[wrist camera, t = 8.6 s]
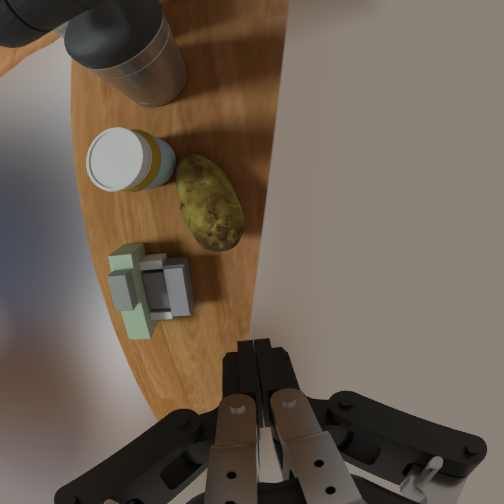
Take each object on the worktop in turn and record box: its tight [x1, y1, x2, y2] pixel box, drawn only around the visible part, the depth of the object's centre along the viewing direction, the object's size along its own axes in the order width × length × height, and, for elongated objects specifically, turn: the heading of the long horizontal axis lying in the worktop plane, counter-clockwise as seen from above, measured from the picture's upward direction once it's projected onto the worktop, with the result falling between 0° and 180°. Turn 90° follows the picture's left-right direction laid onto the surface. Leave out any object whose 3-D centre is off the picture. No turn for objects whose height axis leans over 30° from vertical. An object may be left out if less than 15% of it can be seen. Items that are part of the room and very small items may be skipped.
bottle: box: [86, 127, 176, 192], centre depth 29 cm, size 7×7×15 cm
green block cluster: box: [107, 243, 173, 339], centre depth 37 cm, size 13×7×8 cm, turn 4°
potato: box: [175, 153, 244, 252], centre depth 35 cm, size 8×13×8 cm, turn 6°
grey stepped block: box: [143, 256, 195, 317], centre depth 39 cm, size 8×6×4 cm
